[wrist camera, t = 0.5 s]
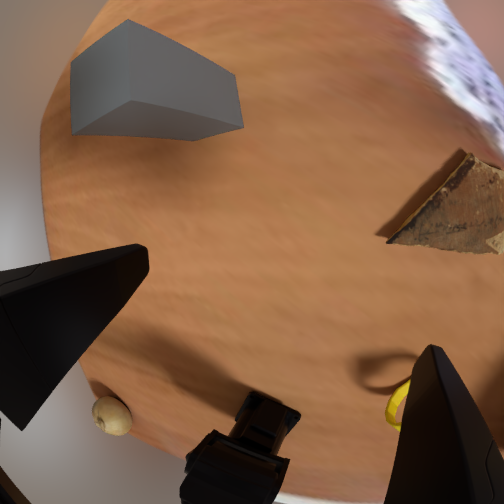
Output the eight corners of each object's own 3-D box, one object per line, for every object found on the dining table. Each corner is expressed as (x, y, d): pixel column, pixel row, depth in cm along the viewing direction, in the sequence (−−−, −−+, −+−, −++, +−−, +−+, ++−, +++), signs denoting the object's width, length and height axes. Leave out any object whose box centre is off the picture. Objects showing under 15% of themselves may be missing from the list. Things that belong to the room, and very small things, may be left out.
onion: (143, 428, 43) (121, 451, 37) (114, 414, 46) (92, 434, 40) (129, 399, 41) (103, 422, 35) (100, 385, 44) (75, 405, 38)
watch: (395, 404, 24) (395, 447, 18) (380, 390, 24) (378, 434, 19) (443, 372, 21) (452, 415, 16) (429, 357, 21) (438, 400, 16)
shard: (384, 239, 21) (385, 245, 20) (389, 142, 19) (391, 139, 17) (497, 253, 17) (505, 259, 16) (506, 162, 15) (516, 162, 14)
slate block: (243, 127, 22) (131, 100, 11) (193, 141, 24) (71, 135, 13) (234, 75, 21) (127, 19, 10) (186, 91, 23) (70, 62, 12)
